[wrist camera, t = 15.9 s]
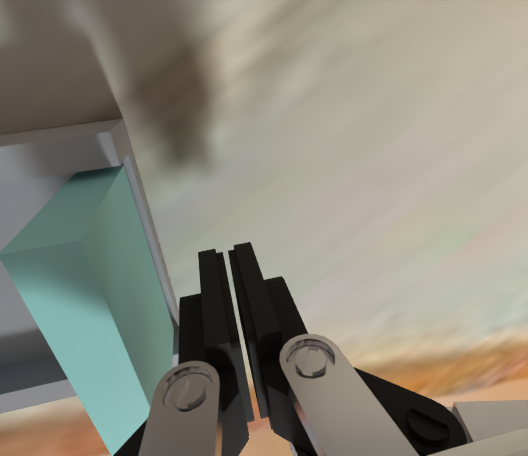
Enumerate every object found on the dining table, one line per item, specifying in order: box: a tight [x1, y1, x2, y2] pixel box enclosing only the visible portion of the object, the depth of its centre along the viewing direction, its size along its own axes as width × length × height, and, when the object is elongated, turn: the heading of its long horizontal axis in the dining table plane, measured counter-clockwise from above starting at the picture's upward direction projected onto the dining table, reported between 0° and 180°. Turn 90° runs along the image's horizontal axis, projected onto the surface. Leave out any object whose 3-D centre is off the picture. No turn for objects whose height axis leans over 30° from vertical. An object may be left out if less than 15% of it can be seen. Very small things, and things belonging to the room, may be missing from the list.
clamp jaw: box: [0, 165, 174, 456], centre depth 10 cm, size 2×7×5 cm, turn 5°
